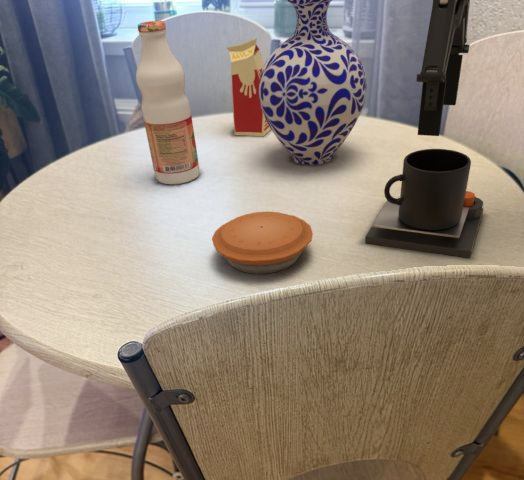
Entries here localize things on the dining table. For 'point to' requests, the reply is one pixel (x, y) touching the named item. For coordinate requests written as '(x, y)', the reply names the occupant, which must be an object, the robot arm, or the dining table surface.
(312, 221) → the dining table surface
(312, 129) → the vase
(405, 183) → the mug
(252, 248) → the pie
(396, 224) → the scale pan
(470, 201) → the tare button
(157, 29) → the fruit juice
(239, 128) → the milk carton
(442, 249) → the scale
